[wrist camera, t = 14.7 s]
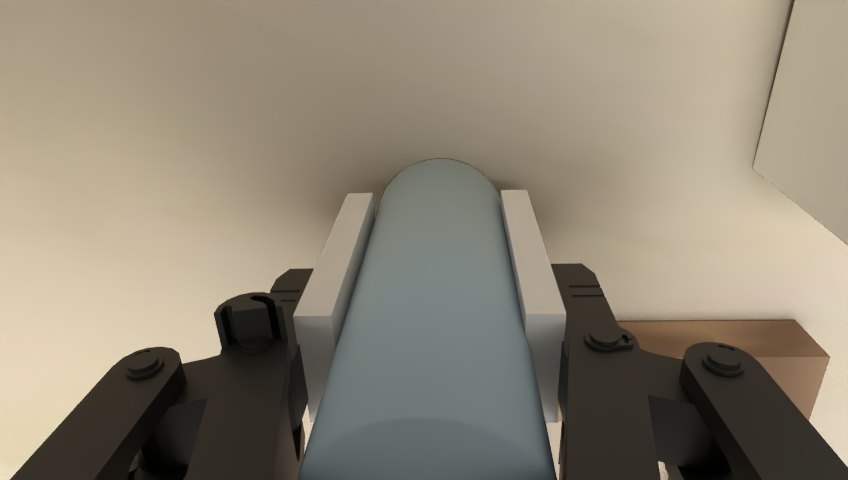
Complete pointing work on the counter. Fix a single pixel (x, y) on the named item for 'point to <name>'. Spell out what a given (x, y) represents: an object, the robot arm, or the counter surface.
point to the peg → (433, 346)
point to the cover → (811, 115)
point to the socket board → (746, 349)
